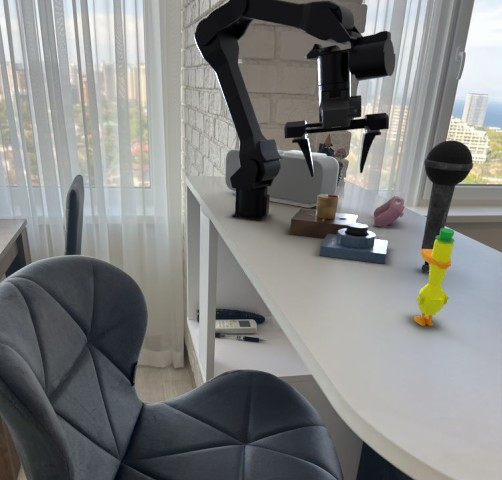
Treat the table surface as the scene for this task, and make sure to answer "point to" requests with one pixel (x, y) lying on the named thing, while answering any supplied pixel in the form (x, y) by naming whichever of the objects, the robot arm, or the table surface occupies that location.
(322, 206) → the dial
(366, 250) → the button box
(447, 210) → the microphone
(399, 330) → the table surface
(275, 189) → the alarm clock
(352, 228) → the button
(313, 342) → the table surface
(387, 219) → the video game controller
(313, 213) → the dial panel
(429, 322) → the toy figure
